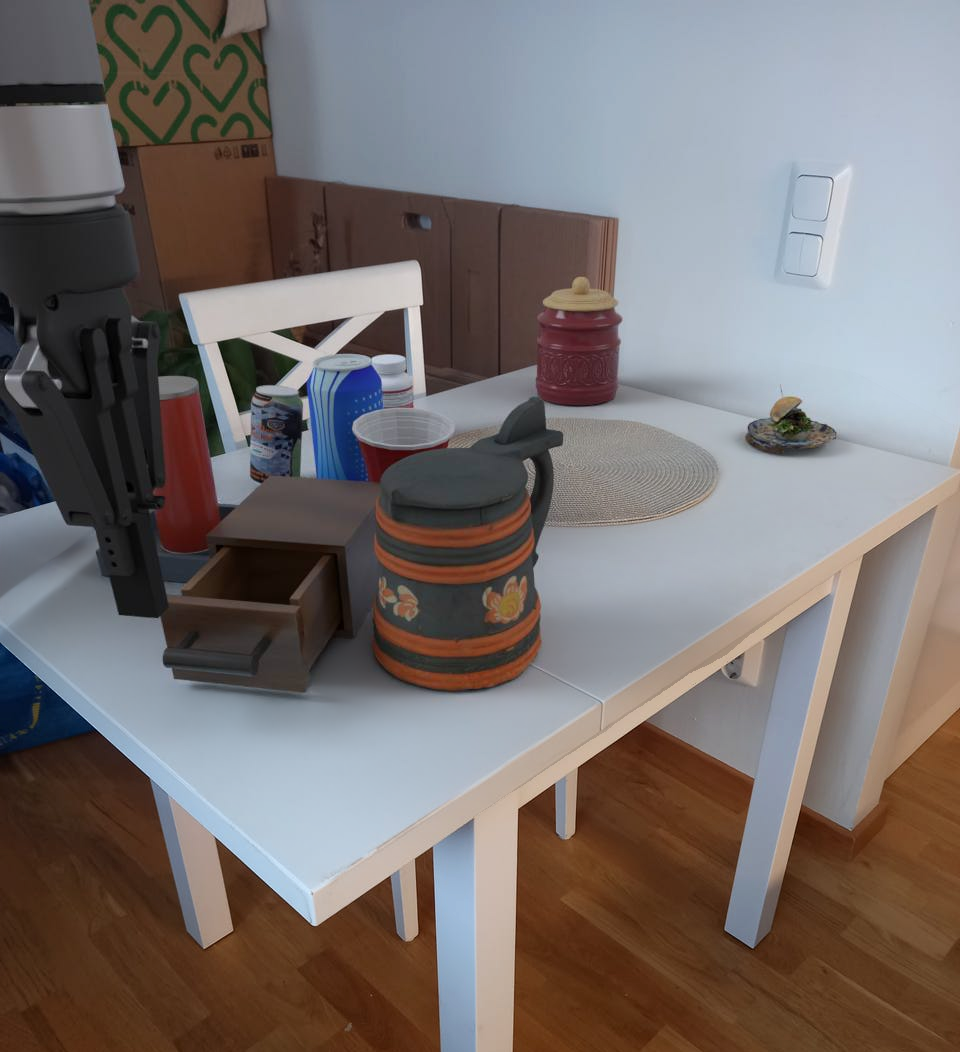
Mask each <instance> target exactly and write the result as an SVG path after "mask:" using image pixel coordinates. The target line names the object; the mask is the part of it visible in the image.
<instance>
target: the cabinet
mask: <svg viewBox="0 0 960 1052" xmlns="http://www.w3.org/2000/svg"><path fill="white" fill-rule="evenodd" d="M380 492H381V482H366V481H350V480H334V479H318V478H317V477H316V478H315V477H301V476H300V477H286V476H269V477H268V478H267V479H266V480H265V481H264V482H263V483H262V484H261V485H258V486H257V487H255V489H254V490H253V491H252V492H250V494H249V495H248V496H246V497H245V498H244V499H243V500H242V501H241V502H240V503H239V504H237V505H238V506H237V507H236V508H235V509H234V510H233V511H232V512H231V513H229V514H228V515H227V516H226V517H225V518H224V519H223V520H222V521H221V522H220V523H219V524H218V525H217V526H216V527H214V528H213V529H212V530H211V531H210V532H209V533H208V534H207V535H206V540H207V545H208V551H209V556H210V560H211V559H212V558H213V557H214V556H215V555H216V554H217V553H218V552H219V551H220V550H221V549H222V548H223V547H224V546H225V545H230V546H243V547H256V548H269V549H282V550H295V551H308V552H321V553H334V554H337V561H338V571H339V580H340V590H341V600H342V610H343V619H342V621H341V622H340V624H339V625H338V627H337V628H336V630H335V631H334V633H333V634H332V636H331V637H333V638H343V639H355V637H356V635H357V634H358V632H359V631H360V629H361V627H362V625H363V624H364V622H365V620H366V619H367V617H368V615H369V614H370V613H371V610H373V602H374V598H375V595H376V594H377V576H378V558H377V555H376V553H375V550H374V544H375V540H374V537H375V528H376V525H375V521H376V500H377V498H378V496H379V495H380Z"/></svg>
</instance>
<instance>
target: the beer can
mask: <svg viewBox="0 0 960 1052" xmlns="http://www.w3.org/2000/svg"><path fill="white" fill-rule="evenodd" d="M312 366H313V368H312V370H311V372H310V374H309V376H308V379H307V382H306V391H307V399H308V400H307V401H308V402H307V403H308V409H309V410H308V411H309V421H310V427H311V438H312V447H313V455H314V466H315V474H316V478H318V479H334V480H350V481H366V482H370V481H369V477H368V472H367V468H366V464H365V460H364V457H363V455H362V451H361V447H360V446H359V441H358V440H357V437H356V436H355V435H354V433H353V431H352V427H353V422H354V421H355V420H356V419H358V418H359V417H360V416H362V415H364V414H367V413H370V412H373V411H376V410H382V409H383V395H382V381H381V378H380V376H379V375H378V373H377V372H376V370H375V369H374V367H373V366H372V357H369V356H367V355H363V354H356V353H338V354H337V353H336V354H328V355H324V356H321V357H318V358H316V359H313V361H312Z"/></svg>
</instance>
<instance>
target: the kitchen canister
mask: <svg viewBox="0 0 960 1052" xmlns="http://www.w3.org/2000/svg"><path fill="white" fill-rule="evenodd" d="M542 305H543V306H544V310H543V311H542V312H540V313H539V314H538V315H537V316H536V321H537V322H538V324H539V335H538V336H537V338H536V345H537V349H536V351H537V352H536V354H537V355H536V377H535V388H536V395H537V397H539V398H542V399H543V401H545V402H548V403H552V404H557V405H564V406H593V405H600V404H603V403H607V402H609V401H612V400H613V399H615V397H616V396H617V391H618V389H619V382H620V381H619V363H620V362H619V361H620V346H621V343H622V340H621V338H620V337H619V326H620V325H621V324H622V322H623V321H624V320H623V319H624V318H623V316H622V315H621V314H620V313H619V312H617V310H616V307H617V306H618V305H619V301H618V299H617V298H615V297H613V296H612V295H611V294H610V293H609V292H608V291H606V290H603V289H597V288H591V284H590V281H589V279H588V278H587V277H586V276H578V277H576V278H574V280H573V282H572V285H571V288H563V289H557V290H555V291H553V292H552V293H551V294H550V295H549V296H547V297H545V298H544V299H543V300H542Z"/></svg>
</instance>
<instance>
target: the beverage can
mask: <svg viewBox="0 0 960 1052" xmlns="http://www.w3.org/2000/svg"><path fill="white" fill-rule="evenodd" d="M255 388H256V389H255V392H254V394H253V395H252V397H251V400H250V446H249V447H250V448H249V449H250V452H249V464H250V465H249V477H250V479H251V480H253V481H254V482H255V483H256V484H257V485H258V486H260V485H261V484H262V483H263V482H264V481H265V480H266V479H267V478H268V477H269V476H286V477H301V466H302V443H303V442H302V441H303V418H304V415H303V414H304V402H303V400H302V399H301V396H300V395H299V393H300V392H299V390H298V389H296V388H293V387H289V386H285V385H284V386H283V385H277V384H276V385H274V384H267V385H266V384H265V385H264V384H263V385H259V386H257V387H255Z"/></svg>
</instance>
